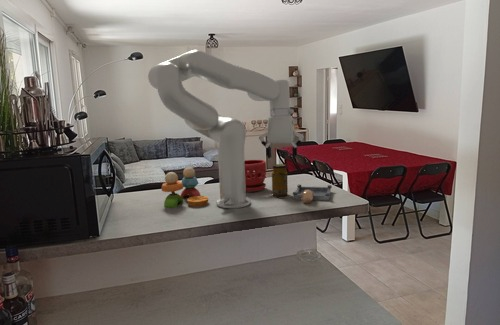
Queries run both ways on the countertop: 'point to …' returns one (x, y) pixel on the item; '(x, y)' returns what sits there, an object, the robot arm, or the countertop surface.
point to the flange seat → (312, 193)
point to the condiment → (280, 182)
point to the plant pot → (255, 175)
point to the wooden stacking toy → (189, 184)
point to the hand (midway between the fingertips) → (281, 157)
